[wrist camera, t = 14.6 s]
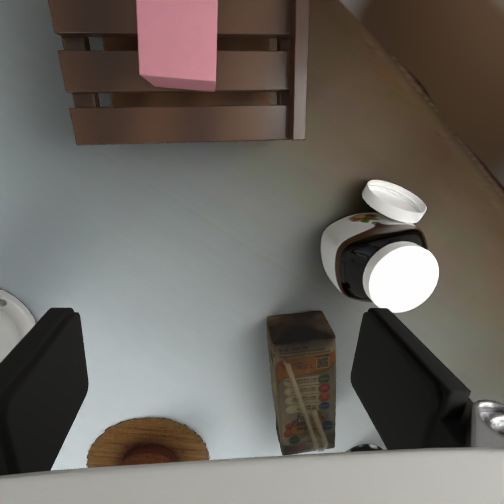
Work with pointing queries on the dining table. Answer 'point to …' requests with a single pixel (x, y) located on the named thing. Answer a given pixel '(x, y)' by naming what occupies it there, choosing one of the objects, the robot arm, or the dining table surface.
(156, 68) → the pink box
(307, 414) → the beverage carton
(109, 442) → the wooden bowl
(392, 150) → the dining table surface
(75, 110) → the rack
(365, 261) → the spread jar
